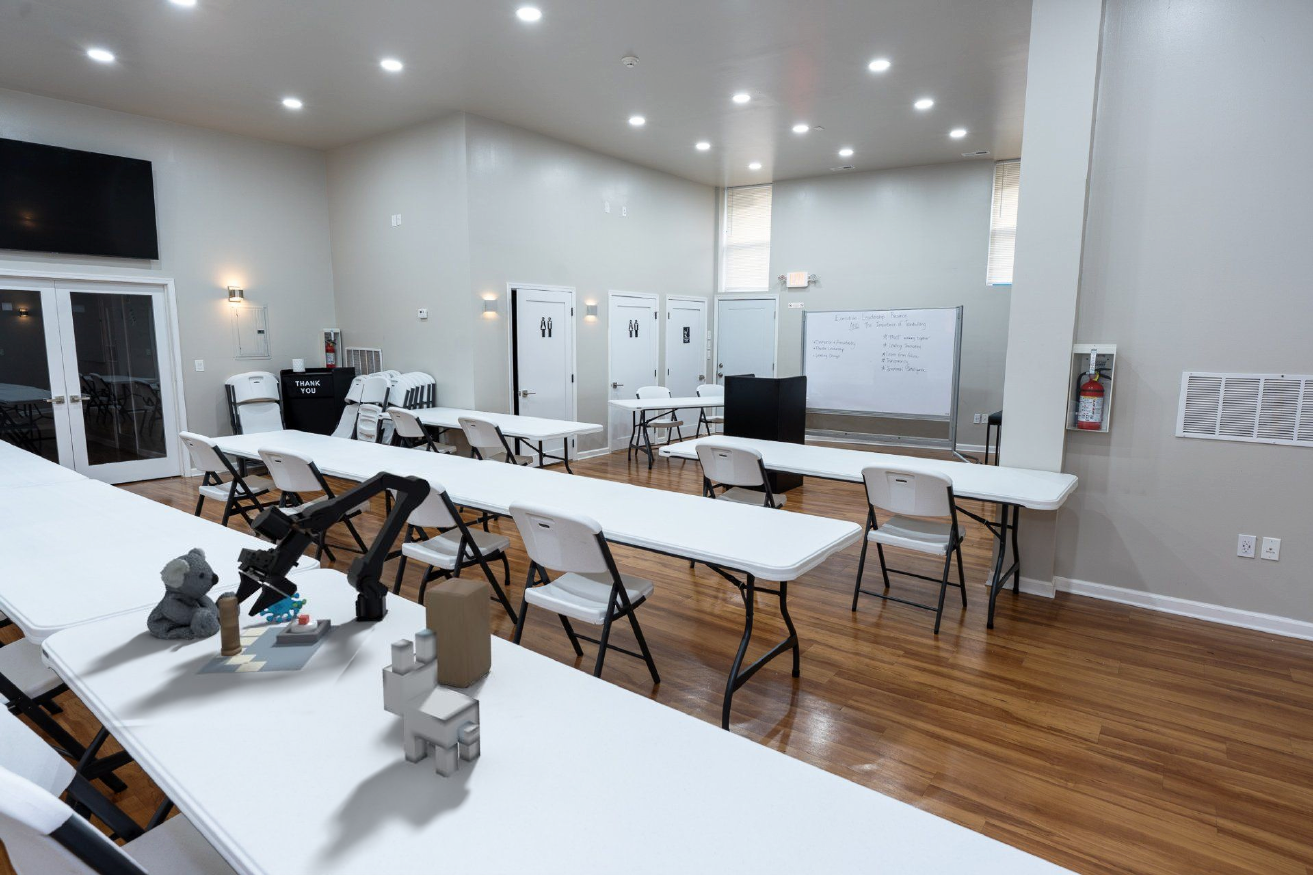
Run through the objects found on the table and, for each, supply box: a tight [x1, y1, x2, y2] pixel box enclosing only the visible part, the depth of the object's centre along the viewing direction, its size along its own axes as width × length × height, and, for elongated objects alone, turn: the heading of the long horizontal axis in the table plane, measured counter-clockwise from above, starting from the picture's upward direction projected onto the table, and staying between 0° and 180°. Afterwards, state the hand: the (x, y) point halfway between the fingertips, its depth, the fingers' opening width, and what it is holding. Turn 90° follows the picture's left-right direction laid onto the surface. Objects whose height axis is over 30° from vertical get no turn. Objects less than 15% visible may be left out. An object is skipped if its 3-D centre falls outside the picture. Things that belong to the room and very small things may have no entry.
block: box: [424, 577, 492, 689], centre depth 144 cm, size 10×10×20 cm
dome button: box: [291, 614, 318, 633], centre depth 162 cm, size 6×6×4 cm
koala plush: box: [146, 547, 241, 640], centre depth 166 cm, size 17×18×20 cm
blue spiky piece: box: [259, 592, 307, 624], centre depth 176 cm, size 11×6×10 cm
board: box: [195, 618, 340, 675], centre depth 156 cm, size 21×24×3 cm
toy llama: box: [381, 628, 481, 779], centre depth 116 cm, size 8×18×20 cm, turn 60°
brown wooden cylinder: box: [218, 597, 242, 657], centre depth 152 cm, size 4×4×12 cm
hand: (241, 610), depth 154 cm, fingers open, 9 cm apart
